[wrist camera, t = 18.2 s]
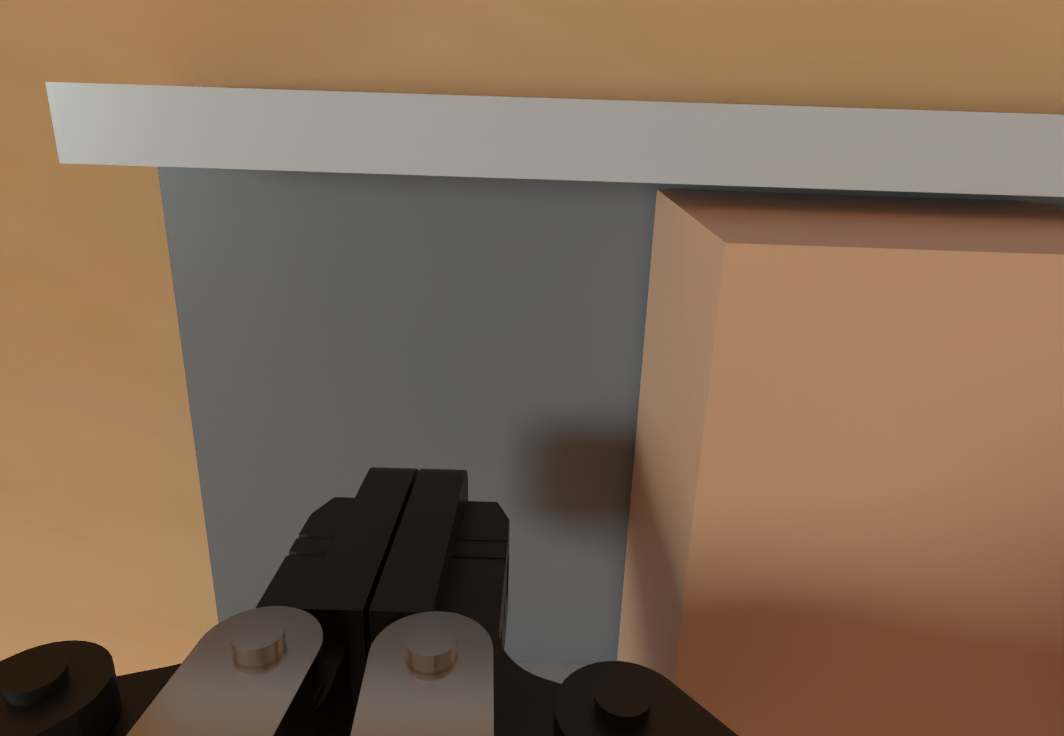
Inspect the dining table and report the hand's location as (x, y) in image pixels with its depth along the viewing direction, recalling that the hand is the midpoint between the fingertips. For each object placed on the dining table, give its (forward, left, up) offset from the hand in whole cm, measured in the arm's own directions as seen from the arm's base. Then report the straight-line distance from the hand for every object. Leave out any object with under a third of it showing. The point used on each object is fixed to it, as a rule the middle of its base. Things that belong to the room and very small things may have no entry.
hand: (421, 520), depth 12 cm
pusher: (-7, 0, -2) cm, 7 cm away
